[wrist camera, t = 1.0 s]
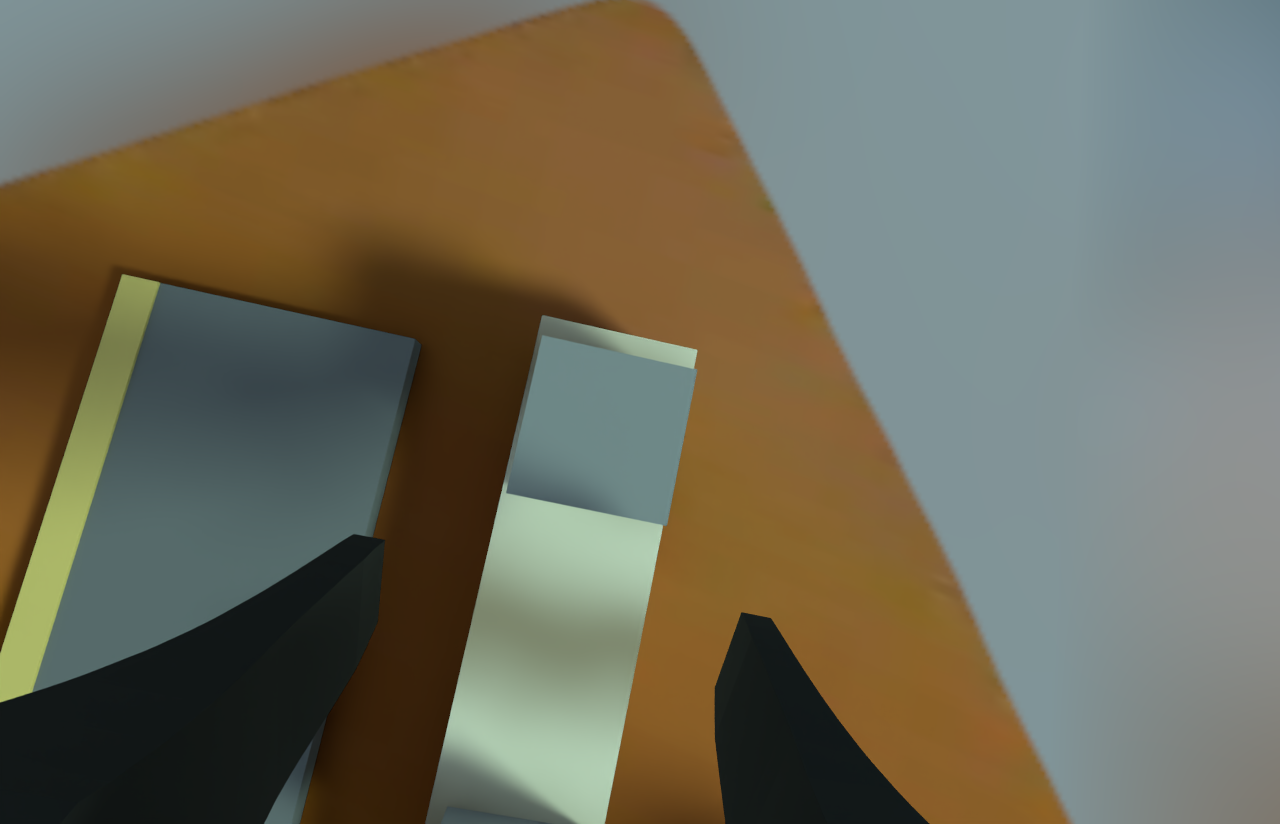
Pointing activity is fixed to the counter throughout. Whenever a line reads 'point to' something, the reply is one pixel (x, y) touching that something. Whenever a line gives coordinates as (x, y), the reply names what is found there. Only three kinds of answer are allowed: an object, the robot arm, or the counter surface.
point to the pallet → (551, 644)
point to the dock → (203, 479)
